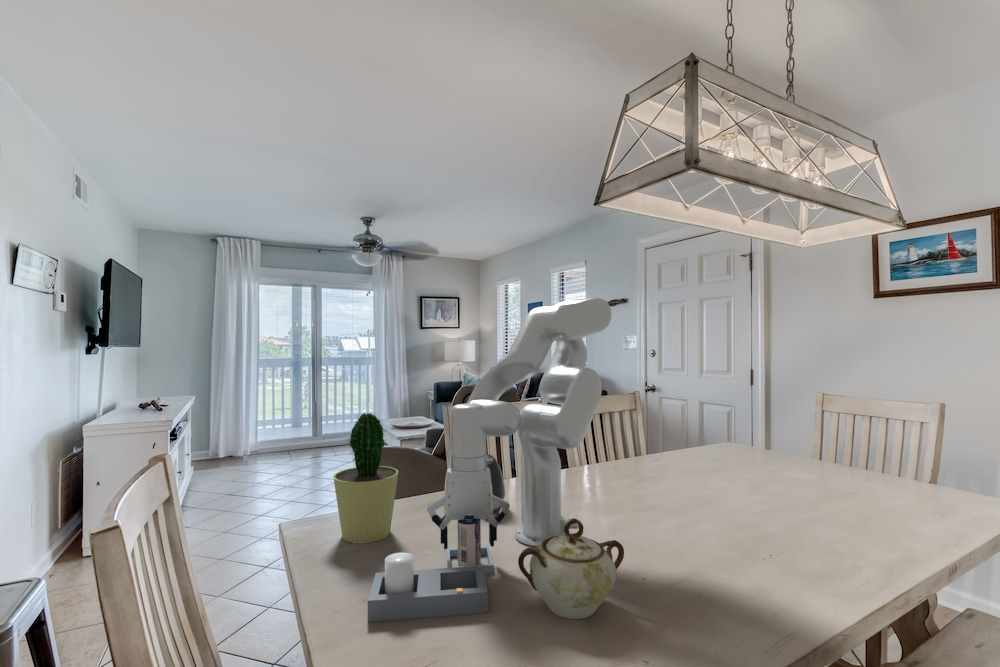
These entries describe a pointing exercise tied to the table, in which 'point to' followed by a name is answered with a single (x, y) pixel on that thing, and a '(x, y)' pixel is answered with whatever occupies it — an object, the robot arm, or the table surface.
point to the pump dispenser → (496, 481)
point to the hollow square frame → (486, 567)
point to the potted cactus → (366, 485)
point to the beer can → (469, 541)
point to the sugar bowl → (572, 572)
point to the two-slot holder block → (425, 591)
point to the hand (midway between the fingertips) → (468, 545)
